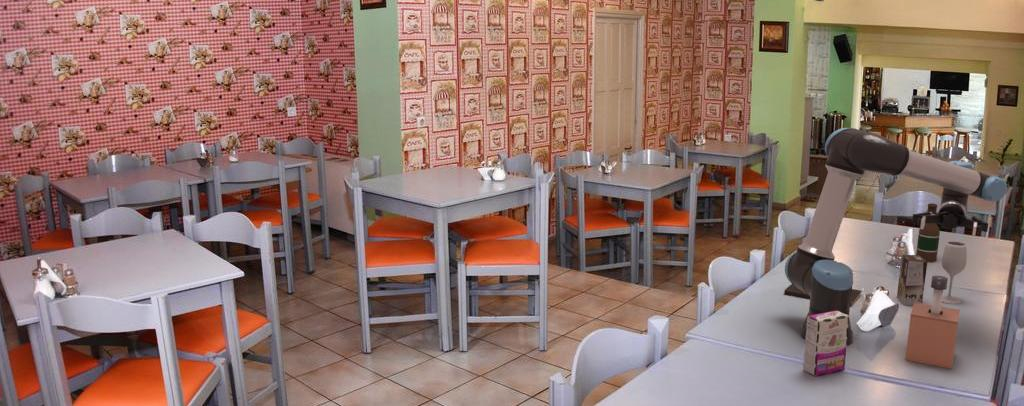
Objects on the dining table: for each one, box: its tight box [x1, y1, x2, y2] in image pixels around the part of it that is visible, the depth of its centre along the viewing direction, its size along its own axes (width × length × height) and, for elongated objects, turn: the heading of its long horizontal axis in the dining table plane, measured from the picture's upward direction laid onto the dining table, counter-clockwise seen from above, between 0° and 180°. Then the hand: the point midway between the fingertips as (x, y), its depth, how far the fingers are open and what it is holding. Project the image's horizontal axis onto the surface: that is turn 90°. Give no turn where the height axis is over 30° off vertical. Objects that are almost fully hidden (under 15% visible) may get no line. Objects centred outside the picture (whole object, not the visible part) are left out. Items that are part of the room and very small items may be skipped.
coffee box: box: [896, 254, 929, 306], centre depth 283 cm, size 9×6×16 cm
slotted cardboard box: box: [905, 302, 961, 369], centre depth 235 cm, size 12×12×14 cm
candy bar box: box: [802, 311, 850, 377], centre depth 225 cm, size 11×5×16 cm, turn 114°
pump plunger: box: [930, 275, 949, 314], centre depth 232 cm, size 8×4×22 cm, turn 149°
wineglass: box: [941, 240, 967, 305], centre depth 284 cm, size 8×8×21 cm
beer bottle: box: [915, 202, 941, 263], centre depth 334 cm, size 8×8×24 cm
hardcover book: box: [783, 283, 862, 308], centre depth 291 cm, size 16×23×2 cm
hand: (947, 228), depth 237 cm, fingers open, 13 cm apart
